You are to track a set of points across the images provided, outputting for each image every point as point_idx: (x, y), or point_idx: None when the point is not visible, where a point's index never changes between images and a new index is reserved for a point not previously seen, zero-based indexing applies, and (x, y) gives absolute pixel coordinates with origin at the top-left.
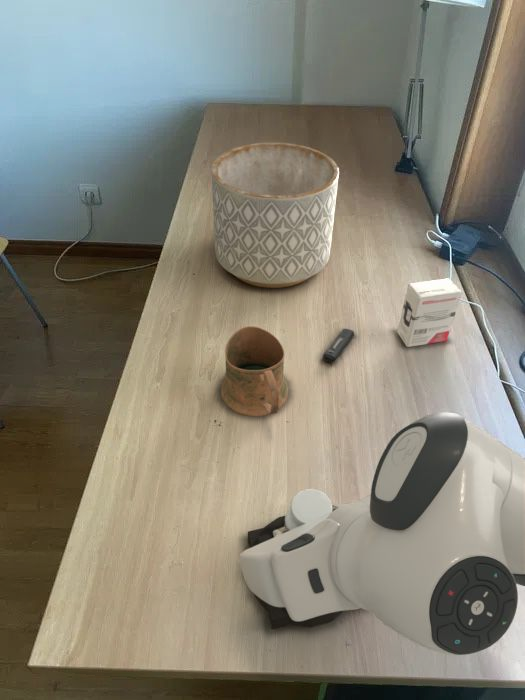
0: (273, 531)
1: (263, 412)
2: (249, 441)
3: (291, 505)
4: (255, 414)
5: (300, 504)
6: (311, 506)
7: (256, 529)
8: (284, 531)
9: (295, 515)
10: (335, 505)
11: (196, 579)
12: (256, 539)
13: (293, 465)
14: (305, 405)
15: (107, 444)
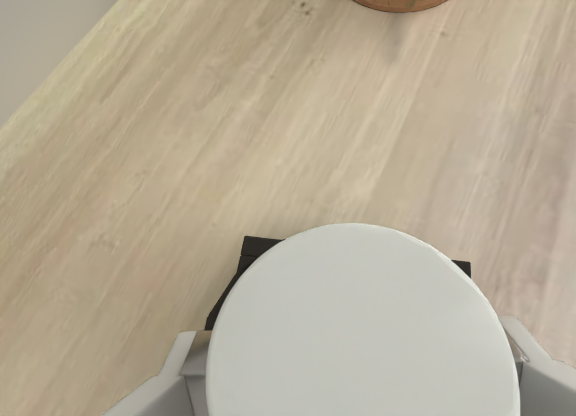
0: (176, 336)
1: (400, 4)
2: (348, 54)
3: (228, 298)
4: (382, 6)
5: (286, 315)
6: (352, 365)
7: (265, 238)
8: (196, 376)
9: (209, 387)
10: (514, 334)
11: (121, 288)
12: (253, 261)
13: (419, 123)
14: (496, 10)
15: (116, 5)
